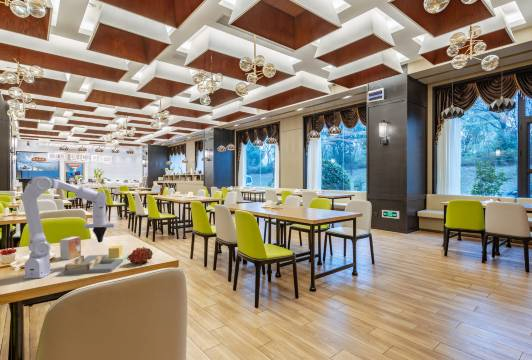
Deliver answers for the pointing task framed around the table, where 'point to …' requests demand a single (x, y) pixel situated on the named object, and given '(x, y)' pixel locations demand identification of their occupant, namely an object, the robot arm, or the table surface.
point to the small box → (70, 247)
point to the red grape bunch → (140, 255)
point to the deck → (100, 264)
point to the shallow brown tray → (76, 266)
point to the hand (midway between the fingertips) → (100, 241)
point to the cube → (115, 251)
